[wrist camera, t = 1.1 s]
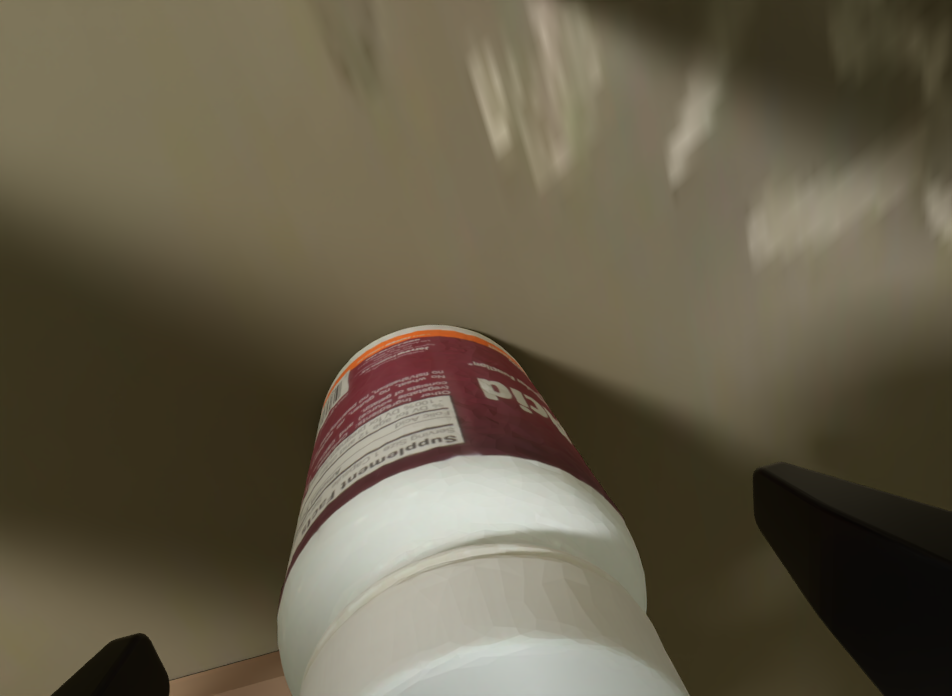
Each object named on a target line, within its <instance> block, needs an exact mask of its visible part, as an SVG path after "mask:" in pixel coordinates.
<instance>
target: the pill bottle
mask: <svg viewBox="0 0 952 696" xmlns="http://www.w3.org/2000/svg"><path fill="white" fill-rule="evenodd" d="M646 610H647V594H646V583H645V574H644V570H643V567H642V563H641V560H640V556H639V553H638V550H637V548H636V545H635V543H634V541H633V538H632V536H631V534H630V532H629V530H628V528H627V527H626V525H625V521H624V518H623V516H622V515H621V513H620V512H619V510H618V509H617V507H616V506H615V504H614V503H613V502H612V500H611V499H610V498H609V496H608V495H607V494H606V492H605V491H604V489H603V488H602V486H601V485H600V484H599V482H598V481H597V479H596V478H595V476H594V475H593V474H592V472H591V471H590V469H589V468H588V466H587V465H586V464H585V462H584V460H583V458H582V457H581V455H580V454H579V453H578V451H577V450H576V449H575V447H574V445H573V444H572V442H571V440H570V438H569V436H568V434H567V433H566V431H565V430H564V429H563V428H562V426H561V425H560V423H559V421H558V420H557V419H556V417H555V416H554V414H553V413H552V411H551V410H550V409H549V407H548V405H547V404H546V402H545V401H544V399H543V397H542V396H541V394H540V393H539V392H538V391H537V389H536V388H535V386H534V385H533V383H532V382H531V381H530V379H529V378H528V376H527V375H526V373H525V371H524V370H523V369H522V367H521V366H520V365H519V364H518V362H517V361H516V360H515V359H514V358H513V357H512V356H511V355H510V354H509V353H508V352H507V351H506V350H504V349H503V348H502V347H501V346H500V345H498V344H497V343H495V342H494V341H492V340H491V339H489V338H487V337H485V336H483V335H481V334H479V333H477V332H474V331H471V330H468V329H464V328H460V327H455V326H448V325H423V326H416V327H411V328H406V329H402V330H399V331H396V332H394V333H391V334H388V335H386V336H384V337H382V338H380V339H378V340H376V341H374V342H372V343H370V344H369V345H367V346H366V347H364V348H363V349H361V350H360V351H359V352H357V353H356V354H355V355H354V356H353V357H352V358H351V359H350V360H349V361H348V362H347V364H346V365H345V366H344V367H343V368H342V369H341V371H340V372H339V374H338V375H337V377H336V378H335V380H334V381H333V383H332V385H331V387H330V389H329V391H328V394H327V396H326V399H325V402H324V405H323V408H322V413H321V418H320V422H319V425H318V430H317V435H316V440H315V445H314V449H313V454H312V458H311V462H310V466H309V470H308V476H307V480H306V486H305V490H304V495H303V498H302V503H301V509H300V513H299V517H298V523H297V528H296V532H295V537H294V541H293V546H292V550H291V555H290V559H289V563H288V568H287V573H286V577H285V581H284V583H283V586H282V589H281V594H280V599H279V606H278V613H277V641H278V647H279V652H280V658H281V663H282V667H283V672H284V676H285V679H286V681H287V684H288V687H289V689H290V692H291V694H292V696H690V695H689V693H688V691H687V689H686V688H685V686H684V684H683V682H682V680H681V678H680V676H679V675H678V673H677V671H676V669H675V667H674V666H673V664H672V662H671V660H670V658H669V656H668V655H667V653H666V651H665V649H664V647H663V645H662V642H661V640H660V638H659V636H658V634H657V632H656V630H655V628H654V626H653V624H652V623H651V621H650V619H649V618H648V616H647V615H646Z"/></svg>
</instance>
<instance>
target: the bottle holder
mask: <svg viewBox="0 0 952 696" xmlns="http://www.w3.org/2000/svg"><path fill="white" fill-rule="evenodd" d="M169 683H170V693H169V696H292V694H291V692H290V689H289V687H288V684H287V681H286V679H285V676H284V672H283V667H282V663H281V658H280V652H279V651H277V652H273V653H270V654H266V655H262V656H259V657H255V658H251V659H248V660H244V661H241V662H237V663H233V664H230V665H226V666H222V667H219V668H215V669H211V670H208V671H204V672H200V673H197V674H193V675H190V676H186V677H182V678H179V679H175V680H171V681H169Z"/></svg>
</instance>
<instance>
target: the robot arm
mask: <svg viewBox="0 0 952 696" xmlns="http://www.w3.org/2000/svg"><path fill="white" fill-rule="evenodd" d="M753 501H754V516H755V520H756V523H757V525H758V527H759V529H760V531H761V532H762V534H763V535H764V537H765V538H766V540H767V541H768V543H769V544H770V546H771V547H772V549H773V550H774V552H775V553H776V555H777V556H778V558H779V559H780V561H781V562H782V564H783V565H784V567H785V568H786V570H787V571H788V572H789V574H790V575H791V577H792V578H793V580H794V581H795V583H796V584H797V586H798V587H799V589H800V590H801V592H802V593H803V595H804V596H805V598H806V599H807V601H808V602H809V604H810V605H811V606H812V608H813V609H814V611H815V612H816V613H817V615H818V616H819V618H820V619H821V620H822V621H823V623H824V624H825V625H826V626H827V628H828V629H829V630H830V631H831V633H832V634H833V635H834V636H835V638H836V639H837V640H838V641H839V642H840V644H841V645H842V646H843V647H844V648H845V650H846V651H847V652H848V653H849V654H850V656H851V657H852V658H853V659H854V660H855V662H856V663H857V664H858V665H859V666H860V668H861V669H862V670H863V671H864V673H865V674H866V675H867V676H868V677H869V679H870V680H871V681H872V682H873V683H874V685H875V686H876V687H877V688H878V689H879V691H880V692H881V693H882V694H883V695H884V696H952V512H951V511H947V510H944V509H941V508H937V507H934V506H930V505H927V504H924V503H920V502H917V501H913V500H910V499H907V498H903V497H900V496H896V495H893V494H890V493H886V492H883V491H879V490H876V489H873V488H869V487H866V486H862V485H859V484H856V483H852V482H849V481H845V480H842V479H839V478H835V477H832V476H828V475H825V474H822V473H818V472H815V471H811V470H808V469H805V468H801V467H798V466H794V465H791V464H788V463H784V462H777V463H773V464H769V465H766V466H762V467H758V468H757V469H756V470H755V471H754V473H753ZM169 693H170V683H169V678H168V675H167V672H166V670H165V668H164V666H163V664H162V662H161V660H160V658H159V656H158V654H157V652H156V650H155V648H154V646H153V644H152V642H151V641H150V639H149V637H148V636H146V635H145V634H142V633H137V634H134V635H130V636H126V637H122V638H118V639H115V640H113V641H111V642H109V643H108V644H107V645H106V646H105V647H104V648H103V649H101V650H100V651H99V652H98V653H97V654H96V655H95V656H94V657H93V658H92V659H90V660H89V661H88V662H87V663H86V664H85V665H84V666H83V667H82V668H81V669H79V670H78V671H77V672H76V673H75V674H74V675H73V676H72V677H71V678H70V679H68V680H67V681H66V682H65V683H64V684H63V685H62V686H61V687H60V688H59V689H57V690H56V691H55V692H54V693H53V694H52V695H51V696H169Z"/></svg>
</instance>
